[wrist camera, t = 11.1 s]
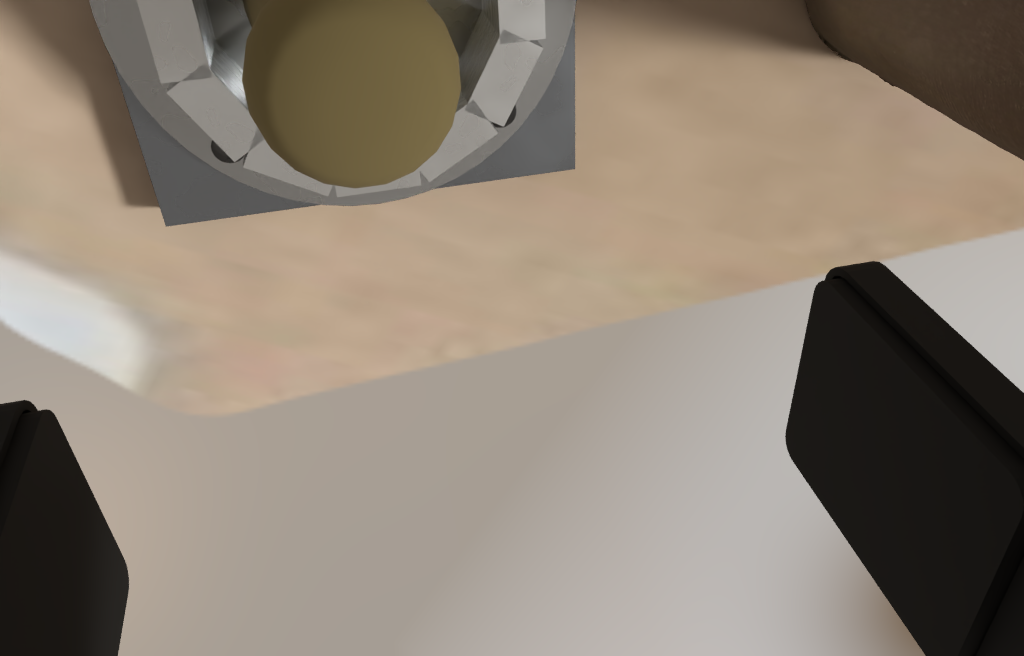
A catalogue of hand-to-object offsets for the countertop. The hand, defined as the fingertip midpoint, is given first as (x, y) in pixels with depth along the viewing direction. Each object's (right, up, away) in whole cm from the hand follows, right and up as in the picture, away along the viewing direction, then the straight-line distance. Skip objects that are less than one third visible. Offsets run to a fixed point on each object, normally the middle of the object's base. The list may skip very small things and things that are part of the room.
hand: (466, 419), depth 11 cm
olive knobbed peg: (-5, +13, +18) cm, 22 cm away
